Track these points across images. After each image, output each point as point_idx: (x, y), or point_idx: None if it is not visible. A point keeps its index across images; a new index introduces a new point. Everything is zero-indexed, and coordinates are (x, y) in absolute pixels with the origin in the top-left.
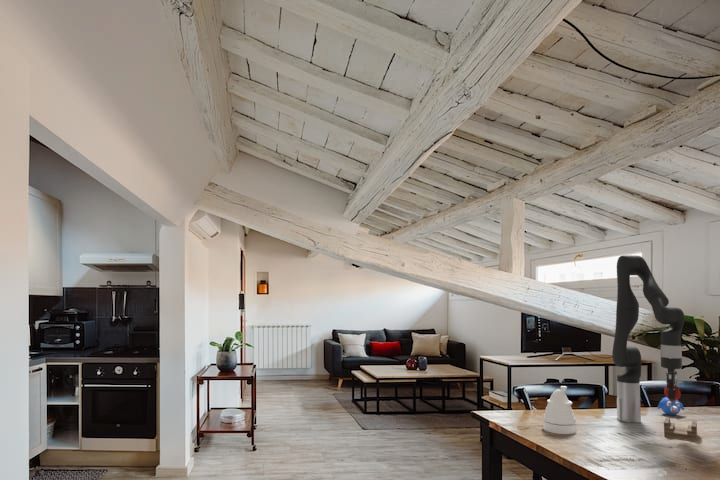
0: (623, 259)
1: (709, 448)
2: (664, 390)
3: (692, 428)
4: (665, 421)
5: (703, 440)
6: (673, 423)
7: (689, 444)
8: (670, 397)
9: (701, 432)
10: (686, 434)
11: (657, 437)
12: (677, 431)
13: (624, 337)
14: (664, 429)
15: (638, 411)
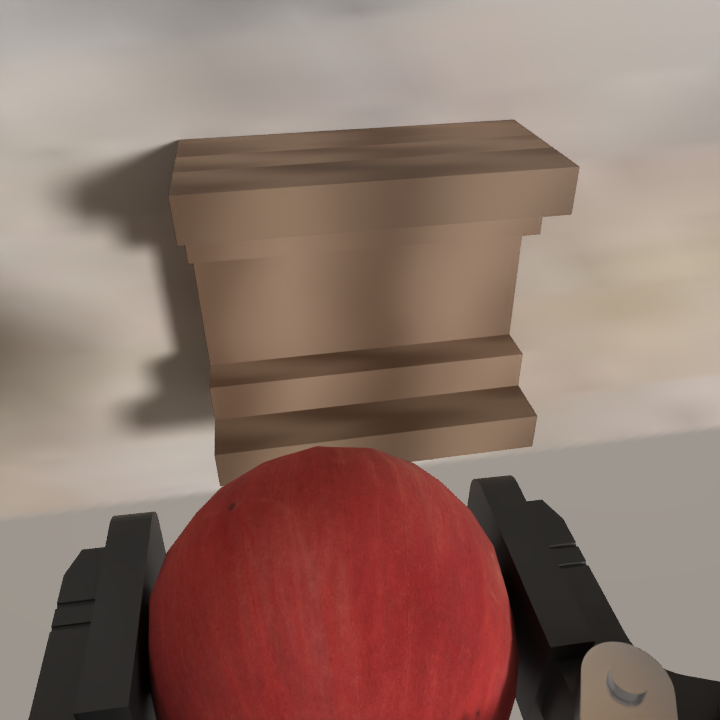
0: None
1: (37, 493)
2: (287, 550)
3: (216, 447)
4: (269, 203)
5: None
6: (514, 229)
7: (37, 373)
8: (76, 578)
9: (602, 377)
10: (216, 358)
11: (71, 75)
12: (296, 274)
13: None
14: (174, 170)
15: None
